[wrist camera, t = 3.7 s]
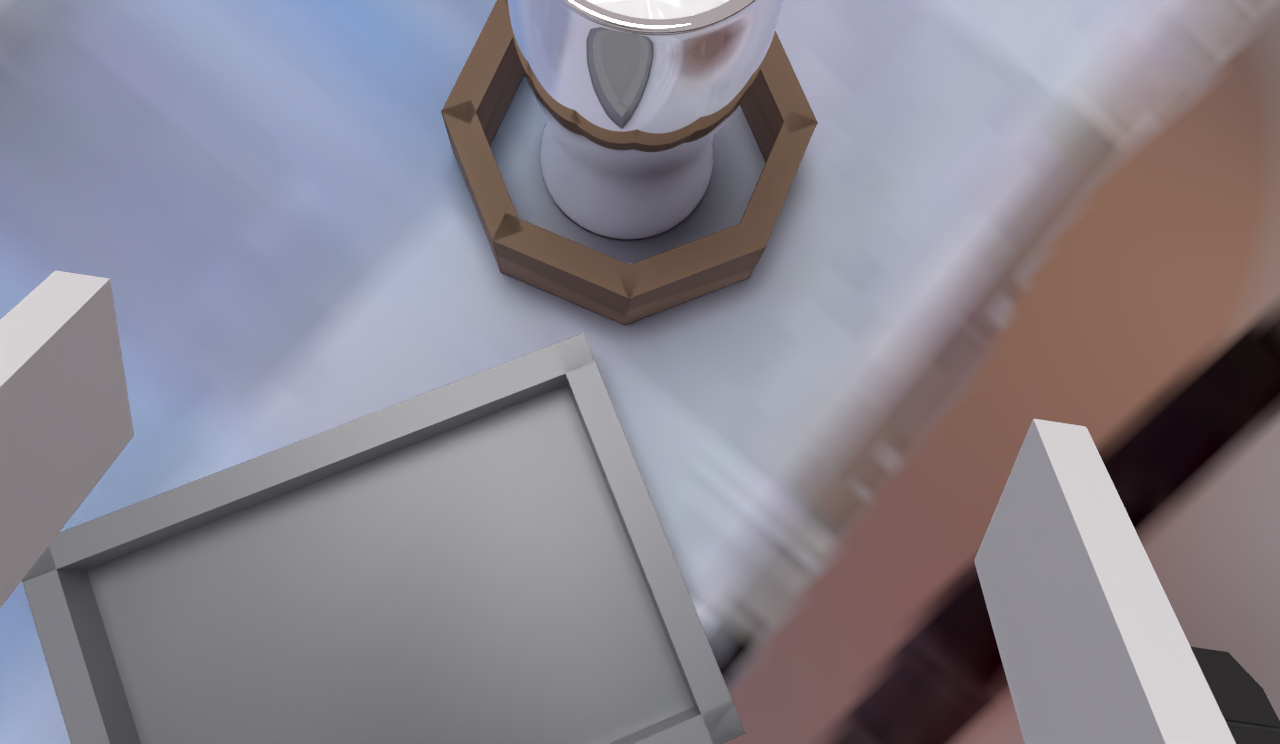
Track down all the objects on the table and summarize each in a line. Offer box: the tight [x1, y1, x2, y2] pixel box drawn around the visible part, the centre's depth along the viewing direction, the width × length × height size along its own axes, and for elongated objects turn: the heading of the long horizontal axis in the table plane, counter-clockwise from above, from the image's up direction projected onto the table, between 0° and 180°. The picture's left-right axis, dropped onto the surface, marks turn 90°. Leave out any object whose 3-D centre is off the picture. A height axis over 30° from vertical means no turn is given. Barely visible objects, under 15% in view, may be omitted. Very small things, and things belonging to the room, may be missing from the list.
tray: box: [22, 333, 745, 744], centre depth 33 cm, size 18×13×3 cm
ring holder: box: [441, 0, 817, 325], centre depth 37 cm, size 11×11×4 cm
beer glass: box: [507, 0, 783, 239], centre depth 31 cm, size 7×7×15 cm
